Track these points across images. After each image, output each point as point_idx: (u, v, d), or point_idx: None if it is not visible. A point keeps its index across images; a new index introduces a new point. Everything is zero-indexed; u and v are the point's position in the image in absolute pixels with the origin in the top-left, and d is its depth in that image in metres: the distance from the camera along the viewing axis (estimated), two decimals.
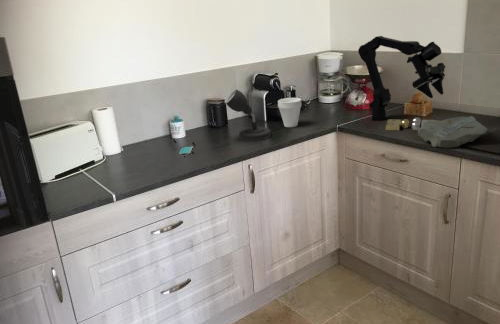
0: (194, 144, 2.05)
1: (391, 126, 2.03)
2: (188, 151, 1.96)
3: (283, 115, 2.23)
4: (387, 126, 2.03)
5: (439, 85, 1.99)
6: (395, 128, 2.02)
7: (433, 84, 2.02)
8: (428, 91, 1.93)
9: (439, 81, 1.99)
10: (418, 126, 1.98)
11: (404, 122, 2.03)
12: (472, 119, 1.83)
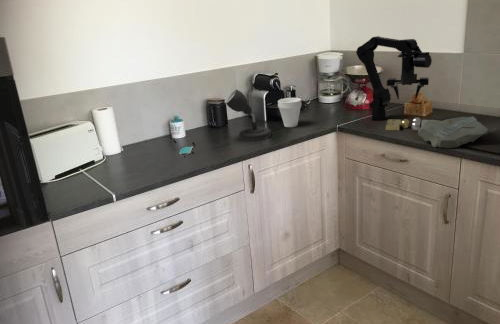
0: (194, 144, 2.05)
1: (391, 126, 2.03)
2: (188, 151, 1.96)
3: (283, 115, 2.23)
4: (387, 126, 2.03)
5: (416, 90, 2.05)
6: (395, 128, 2.02)
7: None
8: (396, 93, 2.09)
9: (417, 87, 2.04)
10: (418, 126, 1.98)
11: (404, 122, 2.03)
12: (472, 120, 1.83)
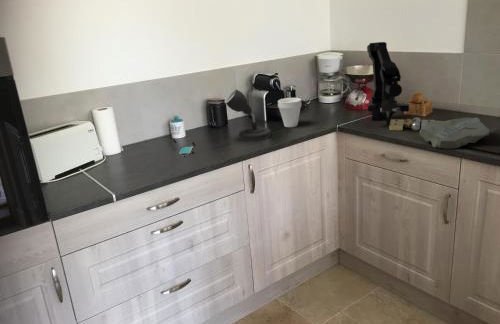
0: (194, 144, 2.05)
1: (394, 126, 2.02)
2: (188, 151, 1.96)
3: (283, 115, 2.23)
4: (390, 126, 2.03)
5: None
6: (399, 128, 2.02)
7: None
8: (385, 118, 2.07)
9: (389, 113, 2.05)
10: (418, 126, 1.98)
11: (407, 122, 2.03)
12: (476, 120, 1.81)
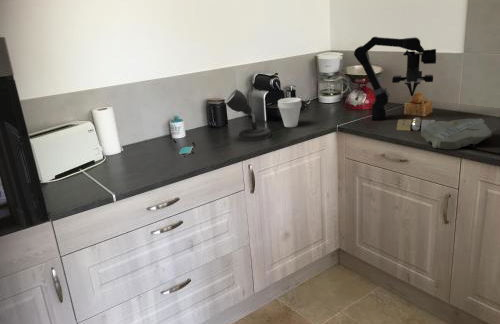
0: (194, 144, 2.05)
1: (402, 126, 2.01)
2: (188, 151, 1.96)
3: (283, 115, 2.23)
4: (398, 126, 2.01)
5: (413, 87, 2.13)
6: (407, 128, 2.00)
7: None
8: (409, 89, 2.14)
9: None
10: (418, 126, 1.98)
11: None
12: (480, 122, 1.79)
